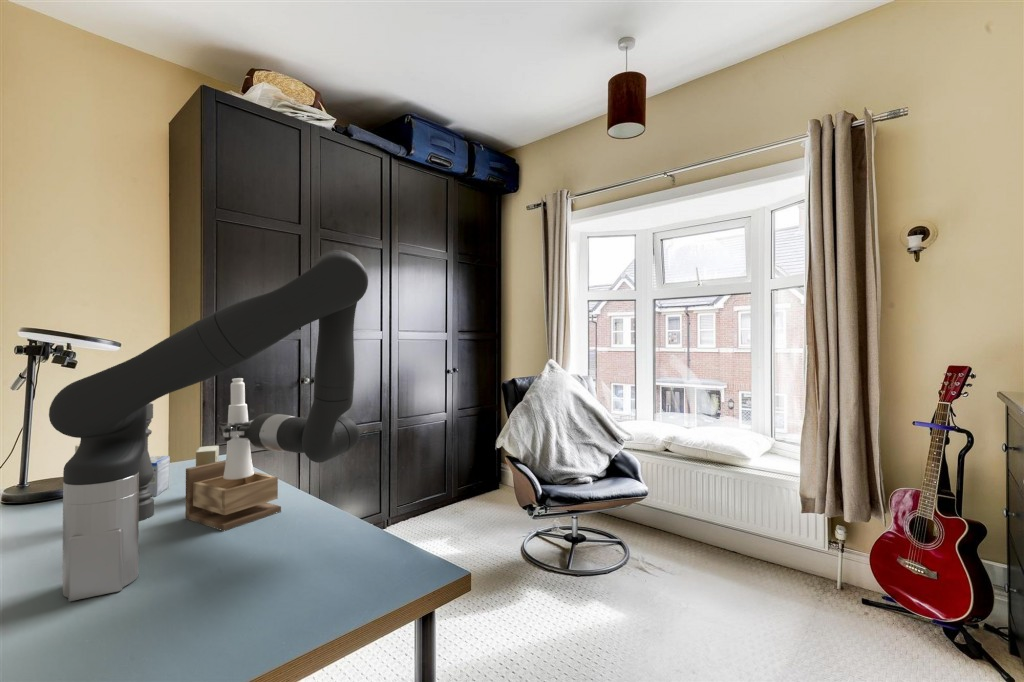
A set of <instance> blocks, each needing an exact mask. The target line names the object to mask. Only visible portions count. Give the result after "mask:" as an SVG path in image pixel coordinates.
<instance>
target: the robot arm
mask: <svg viewBox="0 0 1024 682" xmlns="http://www.w3.org/2000/svg"><path fill="white" fill-rule="evenodd" d="M368 286H369V277H368V273H367V271H366V268H365V267H364V265H363V263H362V262H361V261H360V259H358V258H357V257H356V256H355V255H353V254H352V253H350V252H348V251H346V250H341V249H333V250H329V251H327V252H324V253H323V254H321V255H320V256H319V257H318V258H317V259H316V261H315V262H314V264H313V266H312V267H311V268H309V269H308V270H307V271H305V272H304V273H302V274H301V275H299V276H298V277H296V278H294V279H292V280H290V281H289V282H287V283H285V285H283V286H280V287H279V288H276V289H274V290H272V291H269V292H267V293H263V294H259V295H256V296H253V297H251V298H250V297H249V298H246V299H244V300H241V301H237V302H236V303H233V304H230V305H228V306H225V307H223V308H221V309H220V308H219V310H216V311H214V312H213V313H211V314H209V315H207V316H205V317H203V318H201V319H199V320H197V321H195V322H193V323H192V324H190V325H188V326H187V327H185V328H183V329H181V330H180V331H177V332H175V333H174V334H172V335H170V336H168V337H167V338H165V339H163V340H161V341H160V342H158V343H156V344H154V345H153V346H151V347H150V348H148V349H146V350H145V351H143V352H140V353H139V354H138V355H135V356H134V357H132V358H130V359H127V360H125V361H123V362H121V363H119V364H116V365H113V366H111V367H108V368H106V369H104V370H100V371H99V372H97V373H94V374H92V375H89V376H86V377H83V378H81V379H80V378H79V379H78V380H76V381H73V382H71V383H69V384H68V385H65V387H63V388H62V389H61V390H60V391H59V392H57V394H56V395H55V396H54V397H53V399H52V401H51V403H50V406H49V409H48V417H49V421H50V424H51V426H52V427H53V428H54V429H55V430H56V431H57V432H59V434H63V435H64V436H67V437H71V438H76V439H80V441H79V444H80V445H79V447H78V449H77V451H76V453H75V452H74V454H73V455H72V456H71V457H70V459H69V460H68V461H67V462H66V463H65V464H64V467H63V473H62V474H63V475H62V476H63V479H62V480H63V481H62V482H63V483H62V484H63V485H62V487H63V488H62V595H63V596H64V597H65V598H68V599H67V600H68V601H67V602H74V601H78V600H79V601H80V600H82V599H87V598H92V597H97V596H103V595H106V594H111V593H117V592H121V591H122V590H123V588H124V587H126V586H128V585H130V584H132V583H133V582H134V581H135V580H136V579H138V577H139V561H140V560H139V558H140V557H139V547H140V546H139V545H140V544H139V537H140V536H139V528H140V525H139V524H140V523H139V522H140V521H139V463H140V460H141V457H142V455H143V452H144V448H145V438H146V420H147V404H149V403H152V402H154V401H156V400H158V399H160V398H162V397H163V396H166V395H169V394H171V393H173V392H174V393H175V392H176V391H179V390H182V389H184V388H187V387H191V386H192V385H193V386H194V385H196V384H198V383H202V382H203V381H206V380H209V379H211V378H213V377H216V376H218V375H221V374H222V373H225V372H227V371H229V370H231V369H234V368H235V367H237V366H238V365H240V364H242V363H244V362H246V361H248V360H249V359H252V358H253V357H255V356H257V355H258V354H259V353H262V352H263V351H265V350H267V349H268V348H270V347H271V346H273V345H276V344H277V343H278V342H280V341H282V340H283V339H285V338H287V337H288V336H289V335H291V334H292V333H294V332H296V331H297V330H298V329H300V328H303V327H305V326H306V325H309V324H310V323H313V322H316V321H317V320H318V335H317V344H316V345H317V346H316V355H315V356H316V357H315V363H314V364H315V365H314V377H313V378H314V379H313V380H314V382H313V401H312V404H311V407H310V409H309V413H308V415H307V417H301V416H300V417H298V416H293V415H290V414H289V415H288V414H280V413H268V412H267V413H262V414H259V415H257V416H256V417H255V418H254V419H251V420H248V422H238V423H235V424H231V423H230V424H228V422H222V423H219V425H218V433H219V434H220V436H219V437H220V438H221V440H223V441H224V442H227V441H229V440H231V439H233V436H234V437H235V438H236V439H245V440H249V441H250V443H251V444H252V446H253V447H255V448H257V449H260V450H267V451H268V450H269V451H276V452H289V453H296V454H297V453H298V454H305V456H306V457H307V458H308V459H309V461H312V462H313V463H318V464H319V463H320V464H321V463H324V462H327V461H329V460H332V459H334V458H336V457H339V456H341V455H343V454H345V453H348V452H350V451H351V450H353V449H354V448H355V447H356V446H357V444H359V441H360V429H359V427H358V425H357V424H356V422H354V421H353V420H352V419H351V418H349V417H346V416H343V415H344V414H346V412H348V411H349V410H350V409H351V408H352V405H353V402H354V385H355V346H354V345H355V344H354V341H355V340H354V338H355V337H354V335H355V333H354V330H355V317H356V311H357V305H358V302H359V301H360V300H361V299H363V297H364V296H365V294H366V292H367V290H368Z"/></svg>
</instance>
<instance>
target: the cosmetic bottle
mask: <svg viewBox="0 0 1024 682" xmlns="http://www.w3.org/2000/svg"><path fill="white" fill-rule="evenodd" d="M231 381H232V382H231V383H230V404H229V405H228V411H227V413H228V414H227V423H228V424H230V423H231V424H235V423H238V422H248V421H249V412H248V404H247V403H246V389H245V388H246V387H245V386H246V385H245V382H244V378H242V377H237V378H232V379H231ZM250 443H251V442H250V441H249V440H245V439H236V438H235V437H234V436H233V439H231V440H229V441H226V456H225V460H226V463H225V470H224V476H223V478H224V479H227V480H235V479H242V478H247V477H250V476H252V475H254V472H255V471H254V466H253V461H252V452H251V444H250Z"/></svg>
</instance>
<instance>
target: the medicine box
mask: <svg viewBox="0 0 1024 682" xmlns="http://www.w3.org/2000/svg"><path fill="white" fill-rule="evenodd" d="M170 459H171V458H170V455H154V456H153V455H152V456H150V460H151V463H152V466H153V470H154V476H153V478H152V480H151V481H150V482H149V486H148V489H149V490H150V491H151V492H152V493H153V495H152V496H154V497H158V496H159V495H160V494H161V493H163V492H164V491H165V490H167V489H168V488H169V487H170V464H171V463H170V461H171V460H170Z"/></svg>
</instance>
